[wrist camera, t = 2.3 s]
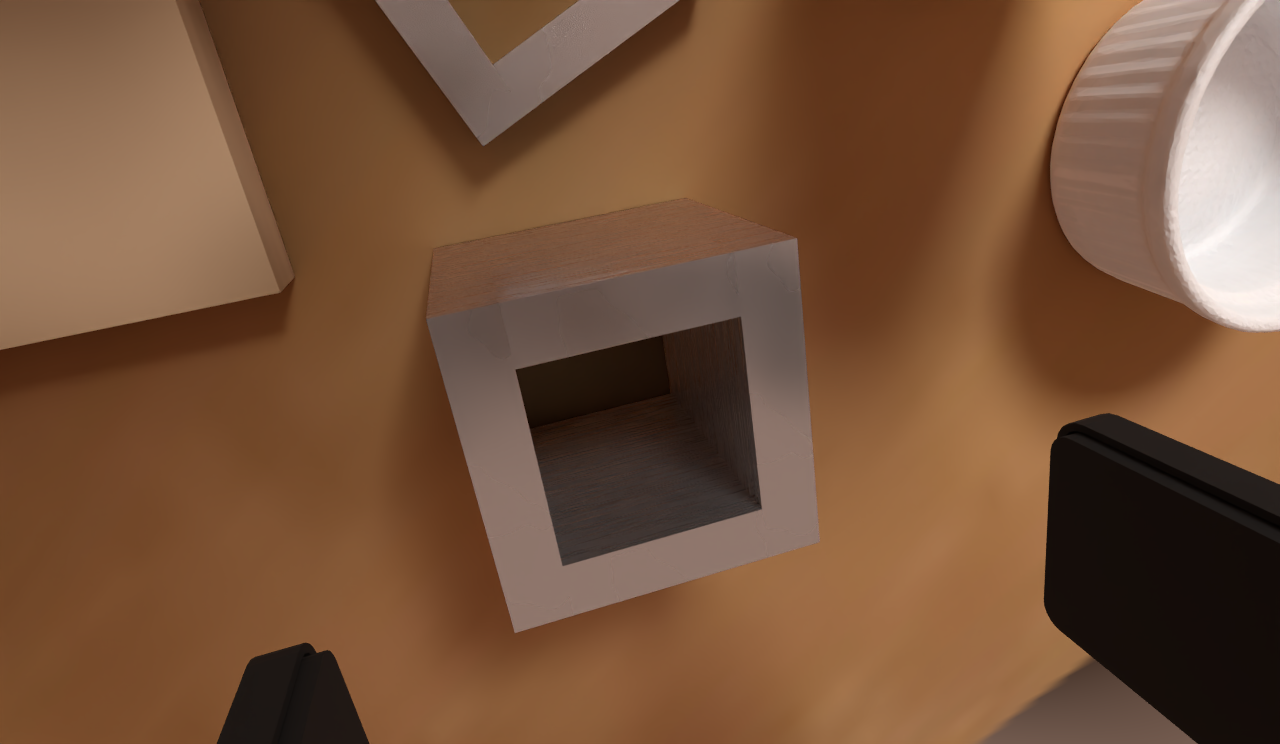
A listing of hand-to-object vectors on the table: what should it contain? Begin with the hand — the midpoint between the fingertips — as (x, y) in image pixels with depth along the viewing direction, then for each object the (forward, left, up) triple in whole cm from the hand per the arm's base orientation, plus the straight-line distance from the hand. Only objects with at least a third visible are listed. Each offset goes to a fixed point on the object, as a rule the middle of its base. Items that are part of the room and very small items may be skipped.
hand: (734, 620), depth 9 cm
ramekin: (-3, +17, -10) cm, 20 cm away
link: (-1, 0, -10) cm, 10 cm away
